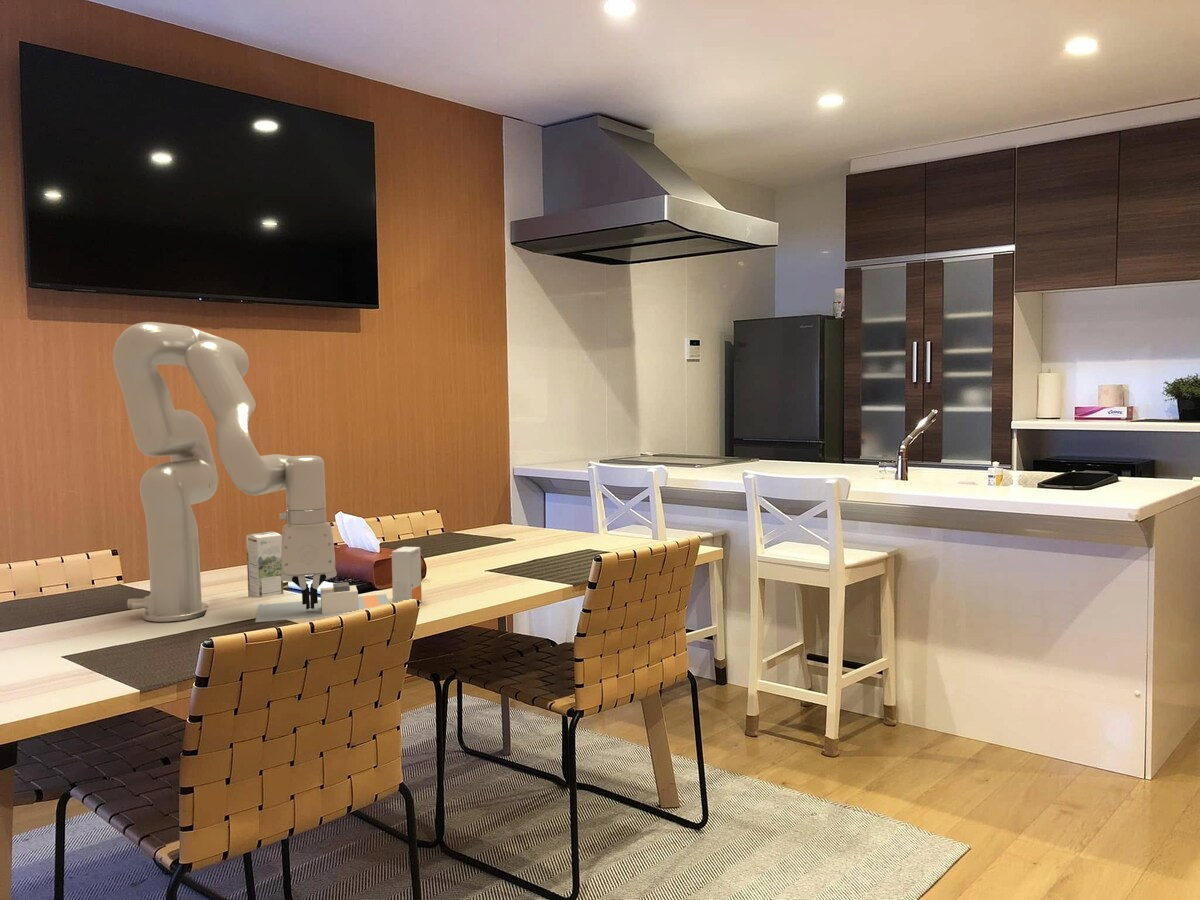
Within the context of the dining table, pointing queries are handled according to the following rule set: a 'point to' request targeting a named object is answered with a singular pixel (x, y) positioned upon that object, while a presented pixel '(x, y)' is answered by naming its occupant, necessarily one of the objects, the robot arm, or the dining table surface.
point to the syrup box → (264, 564)
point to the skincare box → (406, 574)
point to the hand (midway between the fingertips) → (310, 607)
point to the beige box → (339, 598)
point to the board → (299, 611)
